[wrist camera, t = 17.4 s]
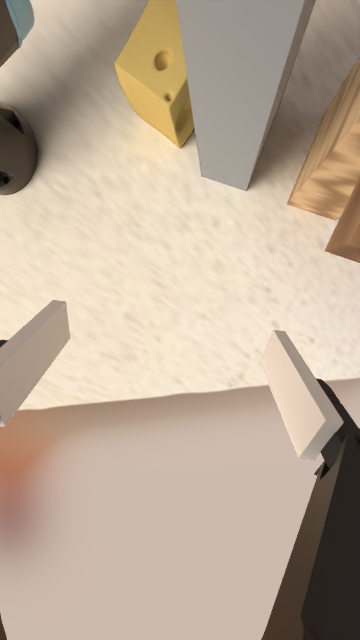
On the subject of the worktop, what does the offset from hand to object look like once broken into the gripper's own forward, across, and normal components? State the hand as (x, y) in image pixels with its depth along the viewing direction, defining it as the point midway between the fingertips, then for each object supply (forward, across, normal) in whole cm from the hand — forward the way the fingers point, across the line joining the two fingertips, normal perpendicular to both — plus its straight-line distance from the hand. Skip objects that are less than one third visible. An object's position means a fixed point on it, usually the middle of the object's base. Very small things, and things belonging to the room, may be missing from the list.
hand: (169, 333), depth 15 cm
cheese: (+40, -4, +19) cm, 44 cm away
